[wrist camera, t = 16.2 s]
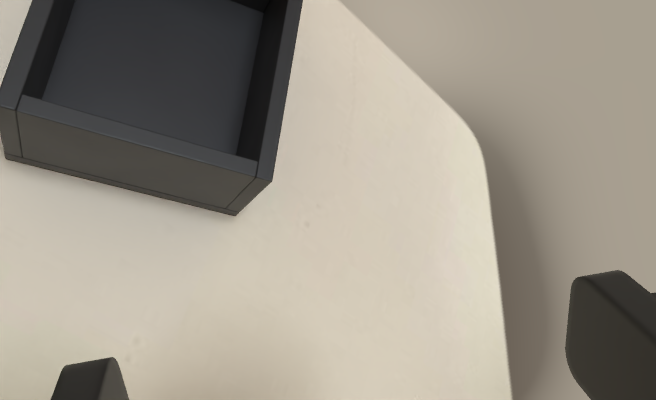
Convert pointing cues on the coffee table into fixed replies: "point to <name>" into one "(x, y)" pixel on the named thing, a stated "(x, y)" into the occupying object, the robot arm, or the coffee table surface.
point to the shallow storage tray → (153, 94)
